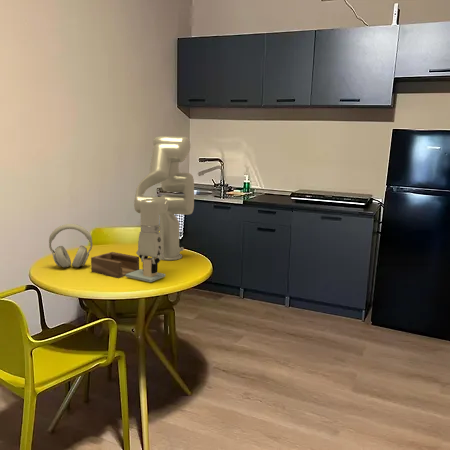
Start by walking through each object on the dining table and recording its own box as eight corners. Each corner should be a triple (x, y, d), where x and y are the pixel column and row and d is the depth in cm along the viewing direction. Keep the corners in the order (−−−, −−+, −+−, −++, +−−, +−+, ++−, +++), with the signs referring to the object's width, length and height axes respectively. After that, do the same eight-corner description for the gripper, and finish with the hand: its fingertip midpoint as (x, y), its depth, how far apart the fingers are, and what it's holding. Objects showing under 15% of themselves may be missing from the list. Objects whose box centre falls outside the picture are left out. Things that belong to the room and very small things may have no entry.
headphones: (93, 263, 214) (92, 221, 211) (91, 269, 204) (90, 225, 201) (52, 264, 211) (50, 222, 207) (48, 270, 201) (45, 226, 197)
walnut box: (112, 265, 212) (112, 251, 211) (139, 271, 204) (139, 256, 203) (91, 272, 201) (91, 257, 200) (118, 278, 193) (118, 263, 192)
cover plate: (140, 271, 202) (140, 253, 200) (165, 276, 195) (165, 258, 193) (125, 276, 193) (125, 258, 192) (150, 282, 186) (150, 263, 185)
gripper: (171, 230, 188) (171, 273, 191) (140, 225, 196) (140, 266, 200) (160, 232, 182) (160, 277, 185) (128, 228, 190) (128, 270, 193)
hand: (150, 271), depth 192 cm, fingers closed on cover plate, 4 cm apart
